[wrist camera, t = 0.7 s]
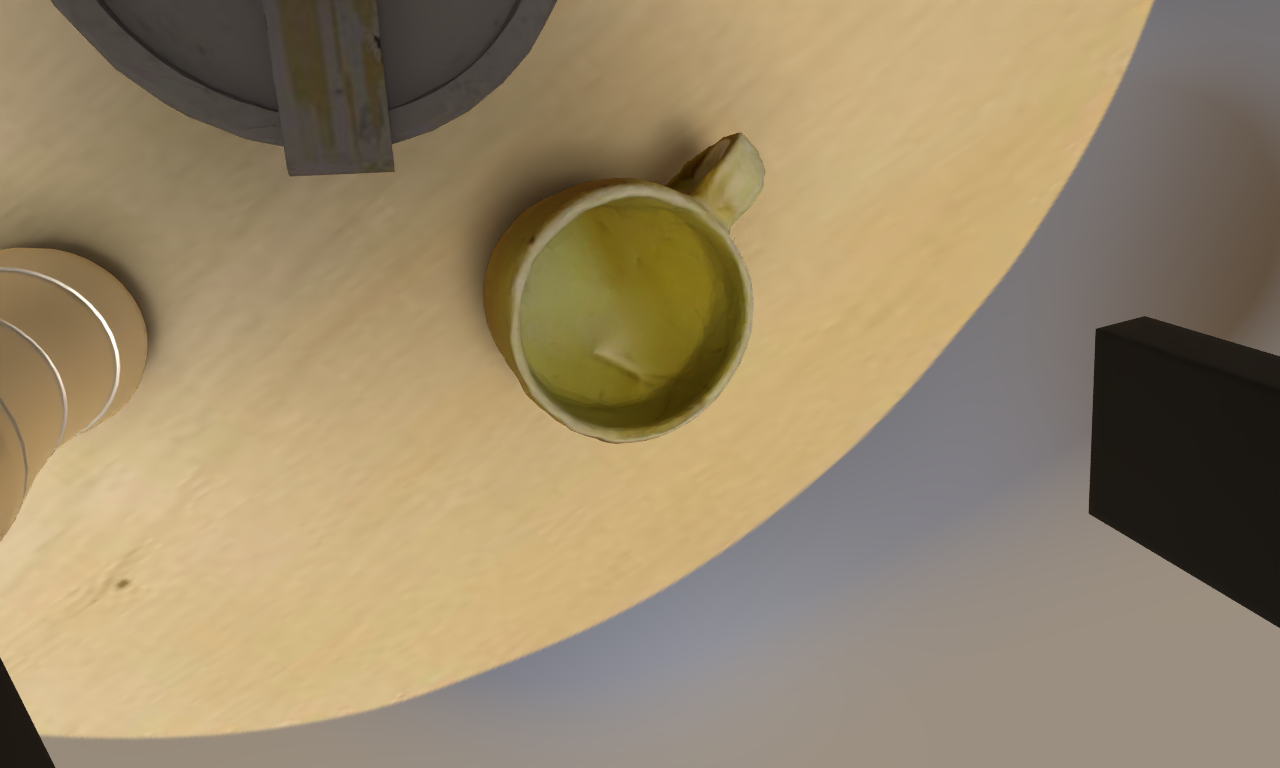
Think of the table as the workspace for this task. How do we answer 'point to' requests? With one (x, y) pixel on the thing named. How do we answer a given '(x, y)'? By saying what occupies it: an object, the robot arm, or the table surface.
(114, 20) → the canister
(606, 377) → the mug
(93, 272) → the plastic bottle
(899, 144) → the table surface
